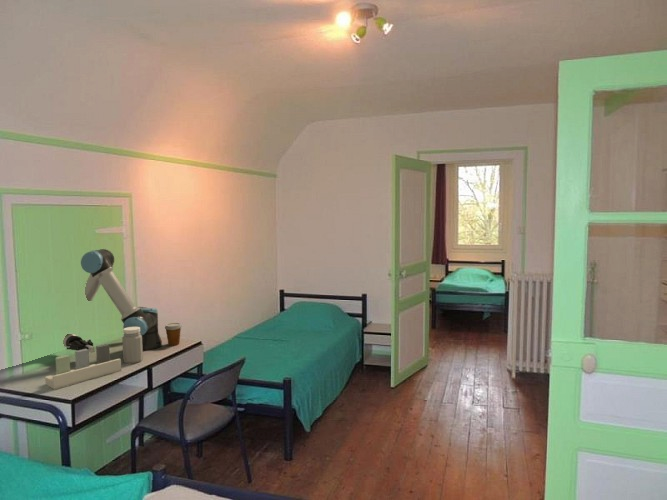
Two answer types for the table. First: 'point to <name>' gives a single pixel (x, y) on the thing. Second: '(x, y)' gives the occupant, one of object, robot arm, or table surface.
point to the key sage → (62, 364)
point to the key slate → (82, 358)
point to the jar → (132, 345)
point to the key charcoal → (102, 353)
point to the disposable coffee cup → (173, 333)
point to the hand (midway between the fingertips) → (92, 349)
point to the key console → (83, 374)
